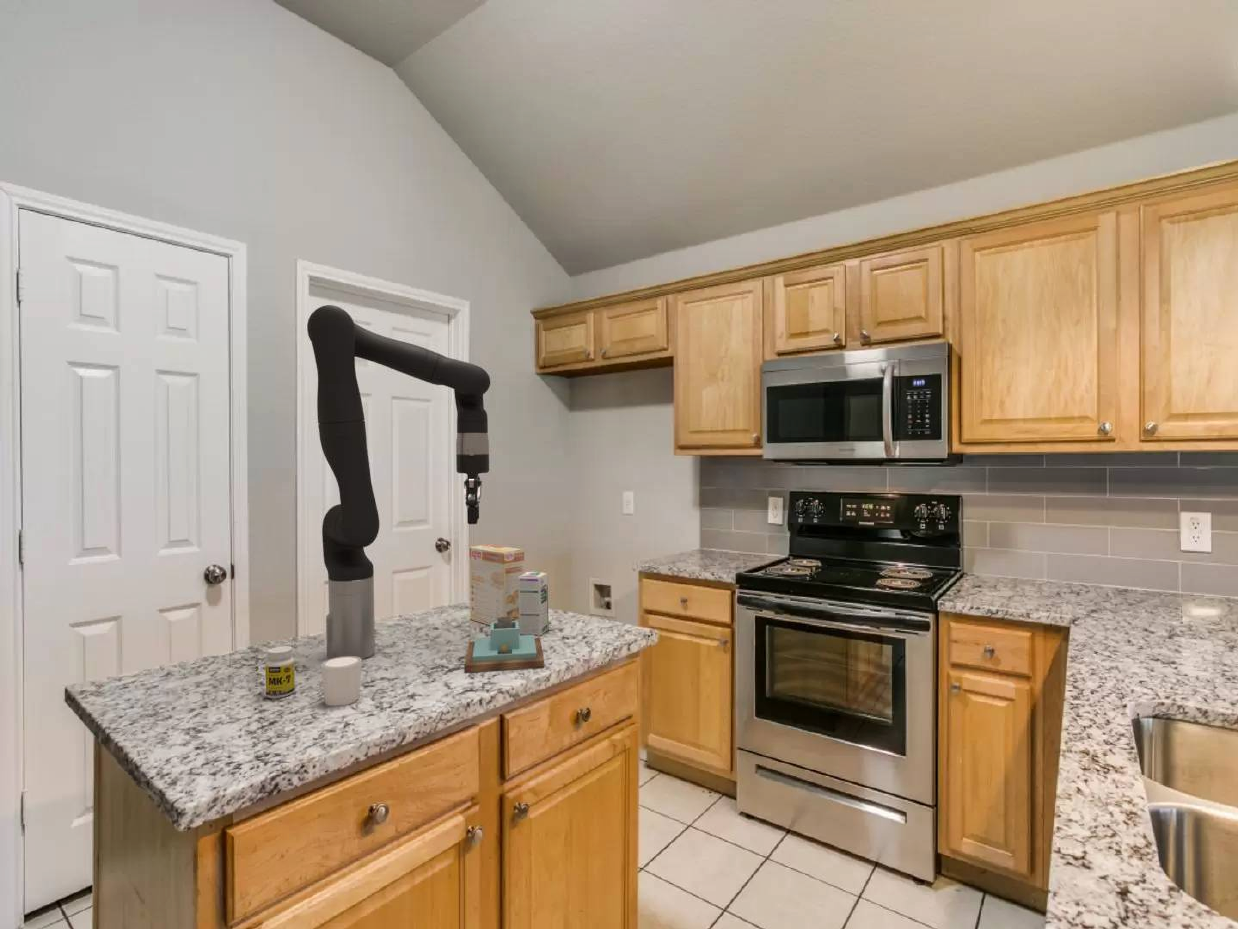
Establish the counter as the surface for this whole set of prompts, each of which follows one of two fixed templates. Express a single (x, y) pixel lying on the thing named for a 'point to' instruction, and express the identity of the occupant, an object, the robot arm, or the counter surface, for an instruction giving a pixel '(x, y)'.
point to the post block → (507, 664)
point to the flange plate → (516, 644)
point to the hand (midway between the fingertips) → (473, 521)
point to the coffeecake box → (495, 582)
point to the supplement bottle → (280, 672)
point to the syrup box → (533, 603)
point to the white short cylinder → (341, 679)
